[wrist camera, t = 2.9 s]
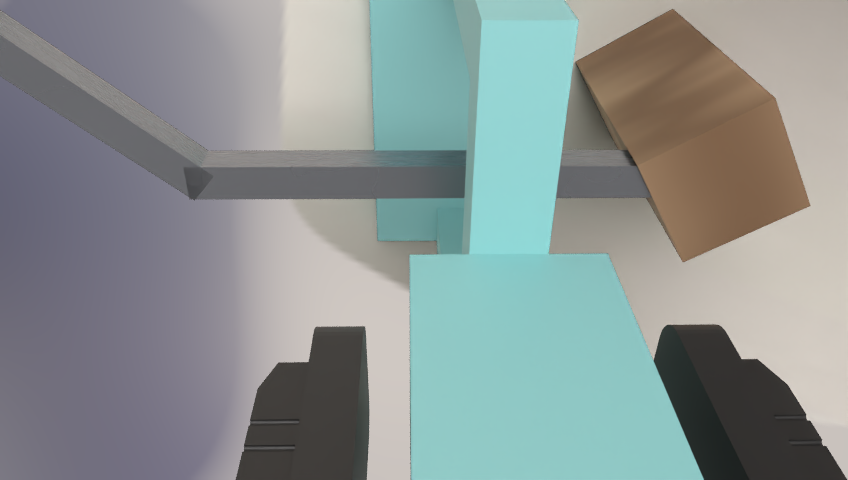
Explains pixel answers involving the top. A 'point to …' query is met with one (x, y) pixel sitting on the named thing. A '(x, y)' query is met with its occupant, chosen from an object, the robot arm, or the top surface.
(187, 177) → the wire
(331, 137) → the top surface
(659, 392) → the turquoise frame with handle
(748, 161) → the wood grain block
